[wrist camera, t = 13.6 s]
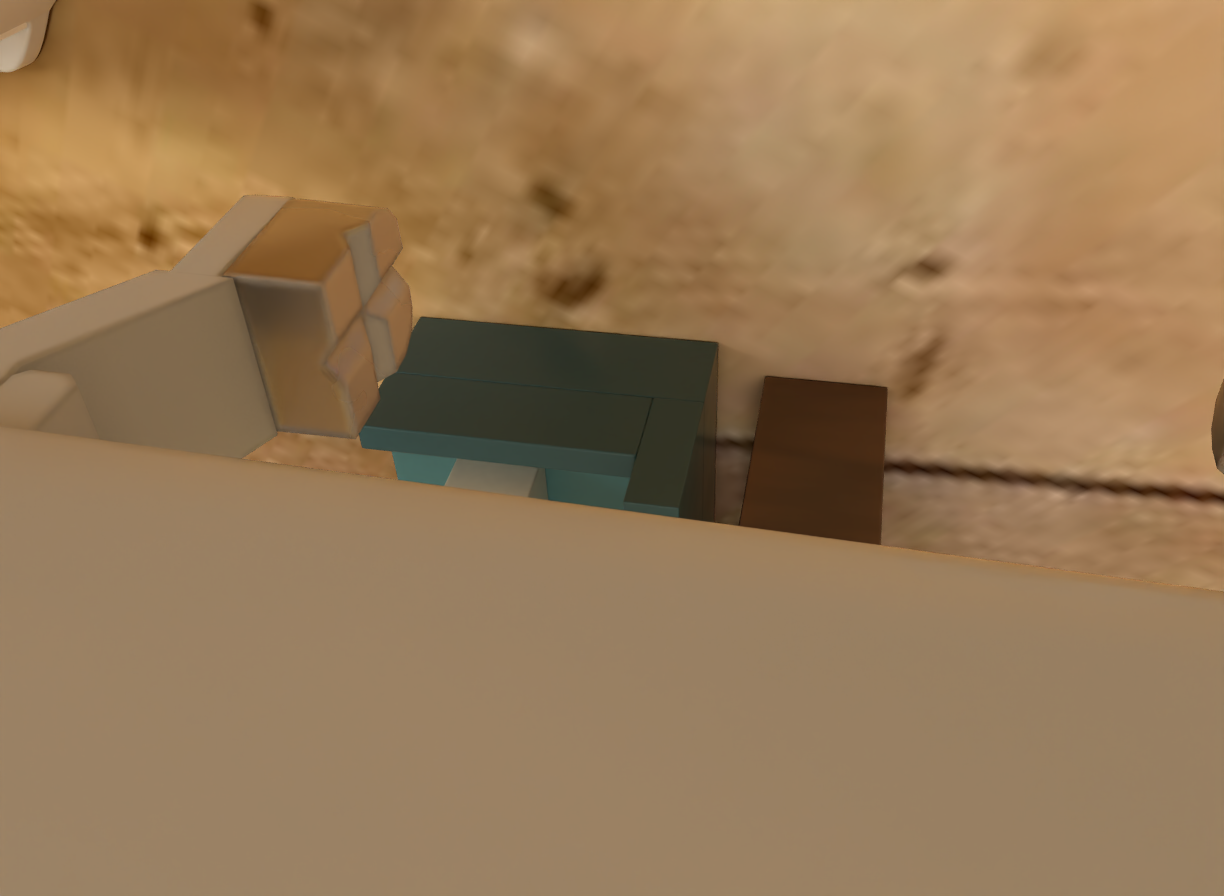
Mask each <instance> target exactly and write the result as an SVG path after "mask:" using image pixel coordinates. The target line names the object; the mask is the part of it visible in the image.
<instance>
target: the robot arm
mask: <svg viewBox="0 0 1224 896" xmlns="http://www.w3.org/2000/svg"><path fill="white" fill-rule="evenodd" d="M55 1H56V0H0V72H13V71H16V70H18V69H20V68H22V67H24V66H27V65H29V64H31V63H32V62H33V61H34V60H35V59H36V58H37V56H38V54H39V52H40V50H41V46H42V43H43V40H44V36H45V31H46V27H47V22H48V16H49V11H50V9H51V7H52V6H53V4H54V3H55ZM402 249H403V247H402V242H401V237H400V232H399V227H398V222H397V219H396V218H395V216H394V215H393V214H392V213H391V211H390V210H389V209H388V208H380V207H371V206H361V205H352V204H343V203H334V202H325V201H316V200H307V199H295V198H293V197H283V196H267V195H246V196H243V197H242V198H241V199H240V200H239V201H238V202H237V203H236V204H235V205H234V206H233V207H232V208H231V209H230V210H229V211H228V212H227V213H226V214H225V215H224V216H223V217H222V218H221V219H220V220H219V221H218V223H217V224H216V225H215V226H214V227H213V228H212V229H211V230H210V231H209V232H208V233H207V234H206V235H205V236H204V237H203V238H202V239H201V240H200V241H199V242H198V243H197V244H196V245H195V246H194V247H193V248H192V249H191V250H190V251H189V252H188V253H187V254H186V256H185V257H184V258H183V259H182V260H181V261H180V262H179V263H178V264H177V265H176V266H175V267H174V268H173V269H172V270H171V271H163V270H155V271H152V272H149V273H147V274H144V275H141V276H139V277H136V278H133V279H131V280H128V281H125V282H123V283H120V284H117V285H115V286H112V287H109V288H107V289H104V290H101V291H99V292H96V293H93V294H91V295H88V296H85V297H83V298H80V299H77V300H75V301H72V302H69V303H67V304H64V305H61V306H59V307H56V308H53V309H51V310H48V311H45V312H43V313H40V314H37V315H35V316H32V317H29V318H27V319H24V320H22V321H19V322H16V323H14V324H11V325H8V326H6V327H3V328H0V896H1224V592H1223V591H1216V590H1209V589H1201V588H1194V587H1186V586H1179V585H1172V584H1164V583H1157V582H1149V581H1142V580H1135V579H1127V578H1120V577H1112V576H1105V575H1098V574H1090V573H1083V572H1075V571H1068V570H1061V569H1053V568H1046V567H1038V566H1031V565H1024V564H1016V563H1009V562H1001V561H994V560H987V559H979V558H972V557H964V556H957V555H950V554H942V553H935V552H927V551H920V550H913V549H905V548H898V547H890V546H883V545H876V544H868V543H861V542H853V541H846V540H839V539H831V538H824V537H816V536H809V535H802V534H794V533H787V532H780V531H772V530H765V529H757V528H750V527H743V526H735V525H728V524H720V523H713V522H706V521H698V520H691V519H684V518H676V517H669V516H661V515H654V514H647V513H639V512H632V511H624V510H617V509H610V508H602V507H595V506H588V505H580V504H573V503H565V502H558V501H551V500H543V499H536V498H528V497H521V496H514V495H506V494H499V493H492V492H484V491H477V490H469V489H462V488H455V487H447V486H440V485H432V484H425V483H418V482H410V481H403V480H396V479H388V478H381V477H373V476H366V475H359V474H351V473H344V472H336V471H329V470H322V469H314V468H307V467H300V466H292V465H285V464H277V463H270V462H263V461H255V460H248V459H242V458H243V457H245V456H246V455H248V454H250V453H251V452H253V451H254V450H256V449H257V448H259V447H260V446H262V445H263V444H265V443H266V442H268V441H269V440H271V439H272V438H274V437H275V436H277V431H280V432H290V433H300V434H310V435H320V436H330V437H339V438H349V439H356V438H357V436H358V435H359V433H360V431H361V430H362V428H363V426H364V425H365V423H366V422H367V420H368V418H369V417H370V415H371V413H372V412H373V410H374V408H375V407H376V405H377V403H378V402H379V400H380V394H379V388H378V383H377V382H379V381H380V380H382V379H384V378H386V377H388V376H390V375H392V374H394V373H396V372H397V370H398V368H399V367H400V365H401V363H402V361H403V359H404V358H405V356H406V354H407V349H408V345H409V341H410V337H411V332H412V301H411V295H410V288H409V285H408V284H407V283H406V282H405V281H404V279H403V278H402V277H401V276H400V275H399V274H398V272H397V271H396V270H395V269H394V268H393V267H392V264H393V263H394V261H395V260H396V258H397V257H398V255H399V254H400V252H401V250H402ZM1211 431H1212V450H1213V454H1214V458H1215V462H1216V466H1217V469H1218V470H1220V471H1221V472H1222V473H1223V474H1224V380H1223V383H1222V385H1221V388H1220V391H1219V393H1218V396H1217V399H1216V404H1215V410H1214V416H1213V422H1212V428H1211Z"/></svg>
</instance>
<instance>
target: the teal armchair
mask: <svg viewBox="0 0 1224 896" xmlns="http://www.w3.org/2000/svg"><path fill="white" fill-rule="evenodd" d="M717 377H718V343H712V342H700V341H689V340H678V339H666V338H655V337H643V336H632V335H620V334H609V333H598V332H586V331H575V330H563V329H552V328H541V327H529V326H518V325H506V324H495V323H483V322H472V321H461V320H449V319H438V318H426V317H420V319H419V321H418V322H417V324H416V326H415V327H414V329H413V331H412V332H411V337H410V341H409V345H408V349H407V354H406V356H405V358H404V359H403V361H402V363H401V365H400V367H399V368H398V370H397V372H396V373H394V374H392V375H390V376H388V377H386V378H385V379H384V380H383V382H382V384H381V386H380V387H379V394H380V400H379V402H378V403H377V405H376V407H375V408H374V410H373V412H372V413H371V415H370V417H369V418H368V420H367V422H366V423H365V425H364V426H363V428H362V430H361V431H360V433H359V437H360V441H361V445H362V447H363V448H366V449H375V450H384V451H392V454H393V459H394V463H395V468H396V472H397V477H398V480H403V481H410V482H418V483H425V484H432V485H440V486H444V485H445V483H446V481H447V479H448V477H449V475H450V473H451V471H452V469H453V466H454V464H455V462H456V460H457V459H465V460H474V461H483V462H492V463H501V464H510V465H519V466H528V467H537V468H545V475H546V484H547V494H548V500H551V501H558V502H565V503H573V504H580V505H588V506H595V507H602V508H610V509H617V510H624V511H632V512H639V513H647V514H654V515H661V516H669V517H676V518H684V519H691V520H698V521H706V522H713V523H714V500H715V459H716V418H717Z"/></svg>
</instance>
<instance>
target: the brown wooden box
mask: <svg viewBox="0 0 1224 896" xmlns="http://www.w3.org/2000/svg"><path fill="white" fill-rule="evenodd" d="M886 412H887V388H885V387H874V386H863V385H852V384H842V383H831V382H820V381H809V380H798V379H787V378H777V377H765V382H764V387H763V393H762V399H761V404H760V410H759V415H758V421H757V427H756V432H755V438H754V444H753V449H752V455H751V460H750V466H749V472H748V477H747V483H746V489H745V494H744V500H743V505H742V511H741V517H740V522H739V526H743V527H750V528H757V529H765V530H772V531H780V532H787V533H794V534H802V535H809V536H816V537H824V538H831V539H839V540H846V541H853V542H861V543H868V544H876V545H881V524H882V501H883V479H884V456H885V434H886Z"/></svg>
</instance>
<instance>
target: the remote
mask: <svg viewBox="0 0 1224 896" xmlns="http://www.w3.org/2000/svg"><path fill="white" fill-rule="evenodd" d="M444 486H447V487H455V488H462V489H469V490H477V491H484V492H492V493H499V494H506V495H514V496H521V497H528V498H536V499H543V500H548V494H547V484H546V475H545V468H537V467H528V466H519V465H510V464H501V463H492V462H483V461H474V460H465V459H457V460H456V462H455V464H454V466H453V469H452V471H451V473H450V475H449V477H448V479H447V481H446V483H445V485H444Z"/></svg>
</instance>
